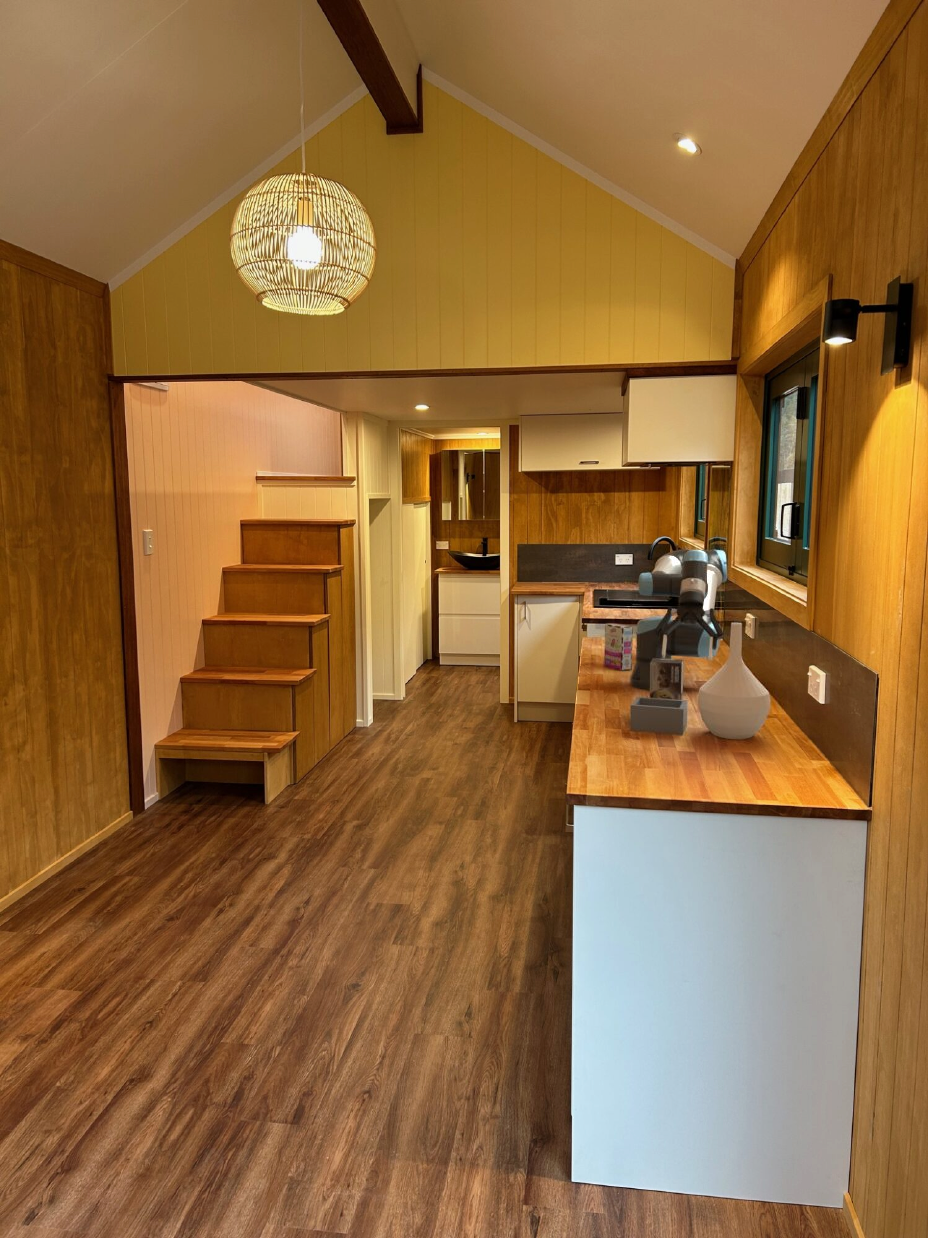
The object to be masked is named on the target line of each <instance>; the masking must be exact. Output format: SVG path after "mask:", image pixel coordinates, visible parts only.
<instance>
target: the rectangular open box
mask: <svg viewBox="0 0 928 1238" xmlns="http://www.w3.org/2000/svg"><path fill="white" fill-rule="evenodd" d="M629 717H630V718H629V730H630V731H632V732H643V733H653V734H654V733H655V734H664V735H677V736H678V735H679V736H684V733H685V730H686V728H687V726H688V700H686V699H685V700H684V699H683V700H674V699H660V698H650V697H645V696H643V697H642V696H636V697H635V699H633V701H632V702H631V704H630V715H629Z"/></svg>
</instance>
